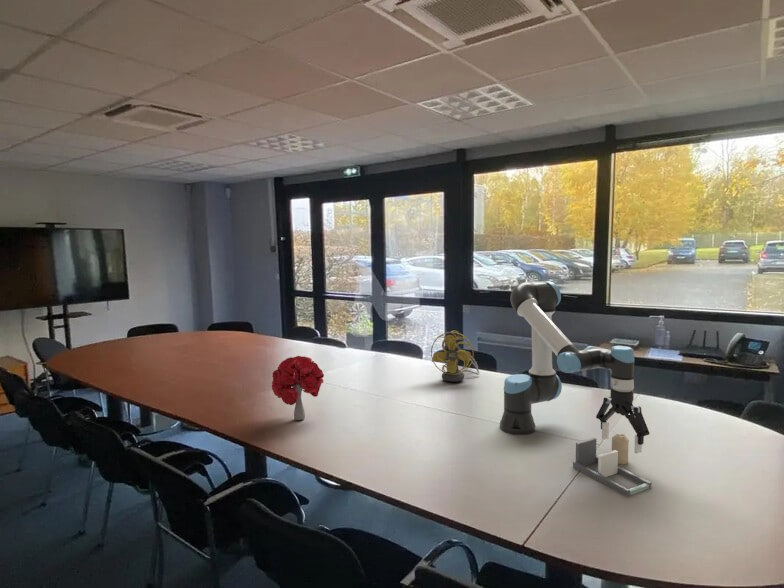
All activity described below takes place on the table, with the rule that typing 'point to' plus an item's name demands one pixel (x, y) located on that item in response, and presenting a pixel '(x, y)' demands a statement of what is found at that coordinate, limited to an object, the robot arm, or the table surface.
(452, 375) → the electric fan
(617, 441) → the candle
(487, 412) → the table surface
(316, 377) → the bouquet
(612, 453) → the plate
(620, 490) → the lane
